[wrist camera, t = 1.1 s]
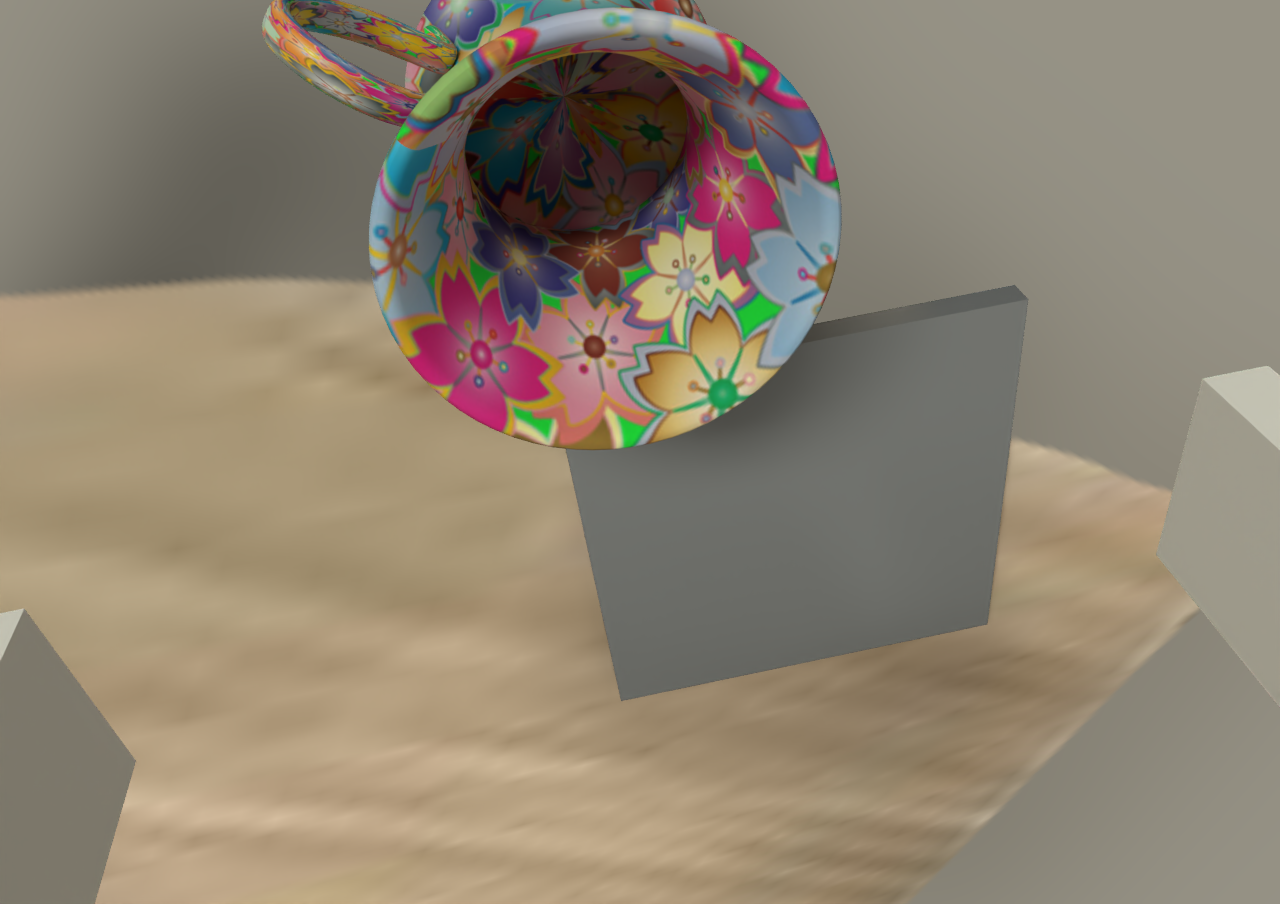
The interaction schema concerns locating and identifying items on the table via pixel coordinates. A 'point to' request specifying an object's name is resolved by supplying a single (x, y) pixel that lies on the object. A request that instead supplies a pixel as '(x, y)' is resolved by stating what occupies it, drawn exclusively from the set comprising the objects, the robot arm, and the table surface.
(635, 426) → the mug
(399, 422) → the table surface
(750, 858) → the table surface
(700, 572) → the slate board
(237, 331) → the table surface
